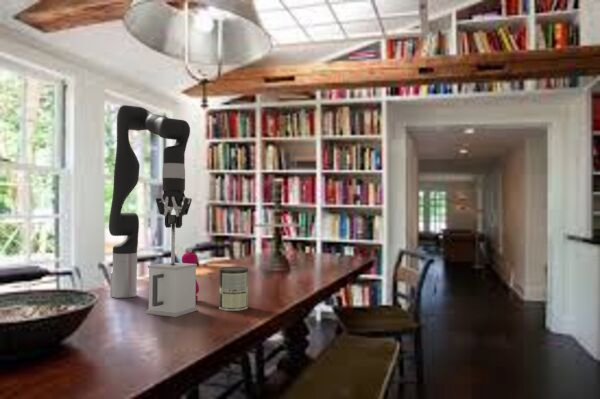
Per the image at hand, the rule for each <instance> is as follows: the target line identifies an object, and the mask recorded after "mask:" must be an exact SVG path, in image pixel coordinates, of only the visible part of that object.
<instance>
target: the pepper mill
mask: <svg viewBox="0 0 600 399" xmlns="http://www.w3.org/2000/svg"><path fill="white" fill-rule="evenodd" d="M186 251H187V252H186V253H184V254H182V257H181V263H188V264H197V263H198V258H199V257H198V255H197V254H196V253H194V252H193V249H192V248H187V250H186ZM199 292H200V286H199V283H198V281H197V280H196V299H195V303H196V302H198V300H199V299H198V295H197V294H198V293H199Z"/></svg>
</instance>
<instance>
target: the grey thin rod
mask: <svg viewBox="0 0 600 399" xmlns="http://www.w3.org/2000/svg"><path fill="white" fill-rule="evenodd" d="M176 217H177V216H176V214H171V215H168V224H171V227H170V228H171V230H170V231H171V232H170V233H171V237H170V238H171V240H170V241H171V242H170V243H171V244H170V246H171V247H170V248H171V249H170V251H171V252H170V262H171V265H175V263H176V261H175V260H176V259H175V258H176V250H175V249H176V227H175V225H176Z"/></svg>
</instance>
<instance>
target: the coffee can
mask: <svg viewBox="0 0 600 399" xmlns="http://www.w3.org/2000/svg"><path fill="white" fill-rule="evenodd" d="M218 271H219V278H218V279H219V280H218V281H219V283H218V284H219V285H218V286H219V287H218V288H219V293H218V294H219V295H218V296H219V298H218V299H219V300H218V301H219V302H218V304H219V306H218V307H219V308H218V309H219V310H221V311H226V312H228V311H229V312H235V311H237V312H238V311H244V310H247V309H248V308H249V306H248V304H249V302H248V301H249V300H248V298H249V295H248V294H249V292H248V291H249V290H248V289H249V288H248V287H249V286H248V285H249V267H246V266H245V267H244V266H226V267H220V268H219V269H218Z"/></svg>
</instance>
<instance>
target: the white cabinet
mask: <svg viewBox="0 0 600 399" xmlns="http://www.w3.org/2000/svg"><path fill="white" fill-rule="evenodd" d="M197 267H198V264H197V263H196V264H188V263H182V262H175V265H171V261H169V262H163V263H158V264H150V265H147V268H148V309H146V314H147V315H155V316H156V315H157V316H165V317H172V318H177V317H180V316H183V315H187V314H190V313H192V312H195V311H198V306H196V302H195V299H196V296H197V294H196V281H197Z"/></svg>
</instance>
